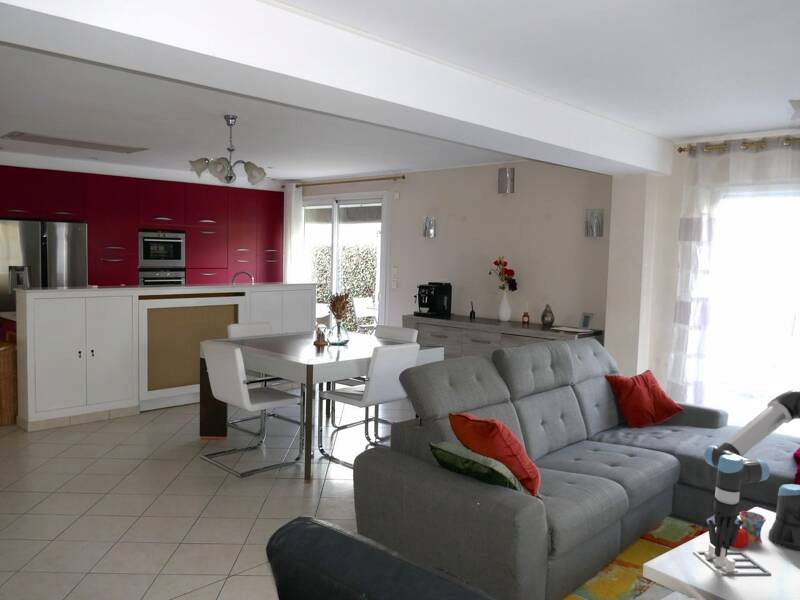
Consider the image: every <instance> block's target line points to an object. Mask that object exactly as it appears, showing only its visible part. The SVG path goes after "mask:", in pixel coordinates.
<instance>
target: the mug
mask: <svg viewBox="0 0 800 600" xmlns="http://www.w3.org/2000/svg"><path fill="white" fill-rule="evenodd" d="M738 514H739V517H740V518H739V519H740V520H742V521H743V524H742V525H741V527H740V528H741V529H744V530H745V531H746V532H747V534H748V537H749V542H748V543H753V544H760V543H761V544H762V543H763V540H762V537H761V533H762V529H763V526H764V523H765V522H766V521H767V519H766V517H765V516H764V515H762V514H760V513H757V512H753V511H747V510H743V511H740V512H739V513H738Z"/></svg>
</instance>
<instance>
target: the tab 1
mask: <svg viewBox="0 0 800 600" xmlns="http://www.w3.org/2000/svg"><path fill="white" fill-rule="evenodd" d="M707 550H708V551H707V552H705V554H704V556H705V557H706V558H716V555H715V546H713V545H712V544H711V543H710V544H708V549H707Z"/></svg>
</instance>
